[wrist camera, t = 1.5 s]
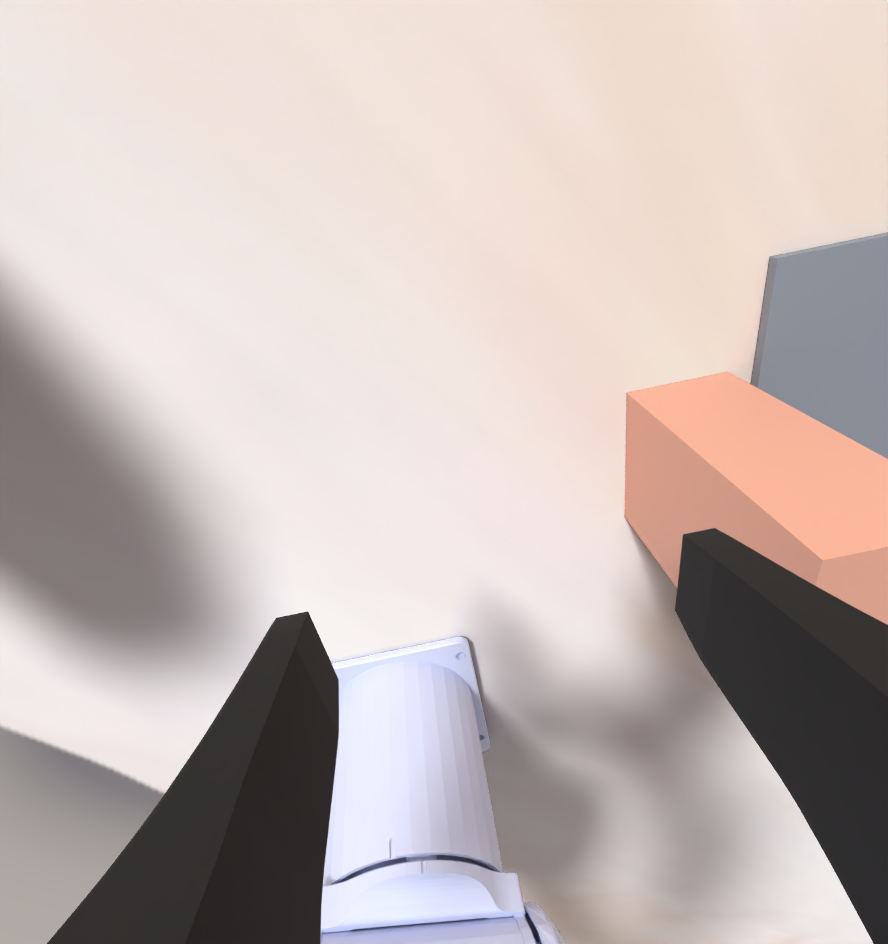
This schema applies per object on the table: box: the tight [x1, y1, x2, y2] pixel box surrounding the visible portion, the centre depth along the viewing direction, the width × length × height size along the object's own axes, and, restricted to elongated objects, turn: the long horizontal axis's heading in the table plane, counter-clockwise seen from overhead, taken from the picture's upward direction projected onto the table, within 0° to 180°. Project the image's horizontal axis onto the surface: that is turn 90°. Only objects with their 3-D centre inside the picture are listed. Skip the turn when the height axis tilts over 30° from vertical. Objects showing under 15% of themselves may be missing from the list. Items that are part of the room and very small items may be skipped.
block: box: [625, 372, 888, 625], centre depth 17 cm, size 6×4×10 cm, turn 10°
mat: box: [751, 233, 888, 459], centre depth 21 cm, size 14×12×1 cm
